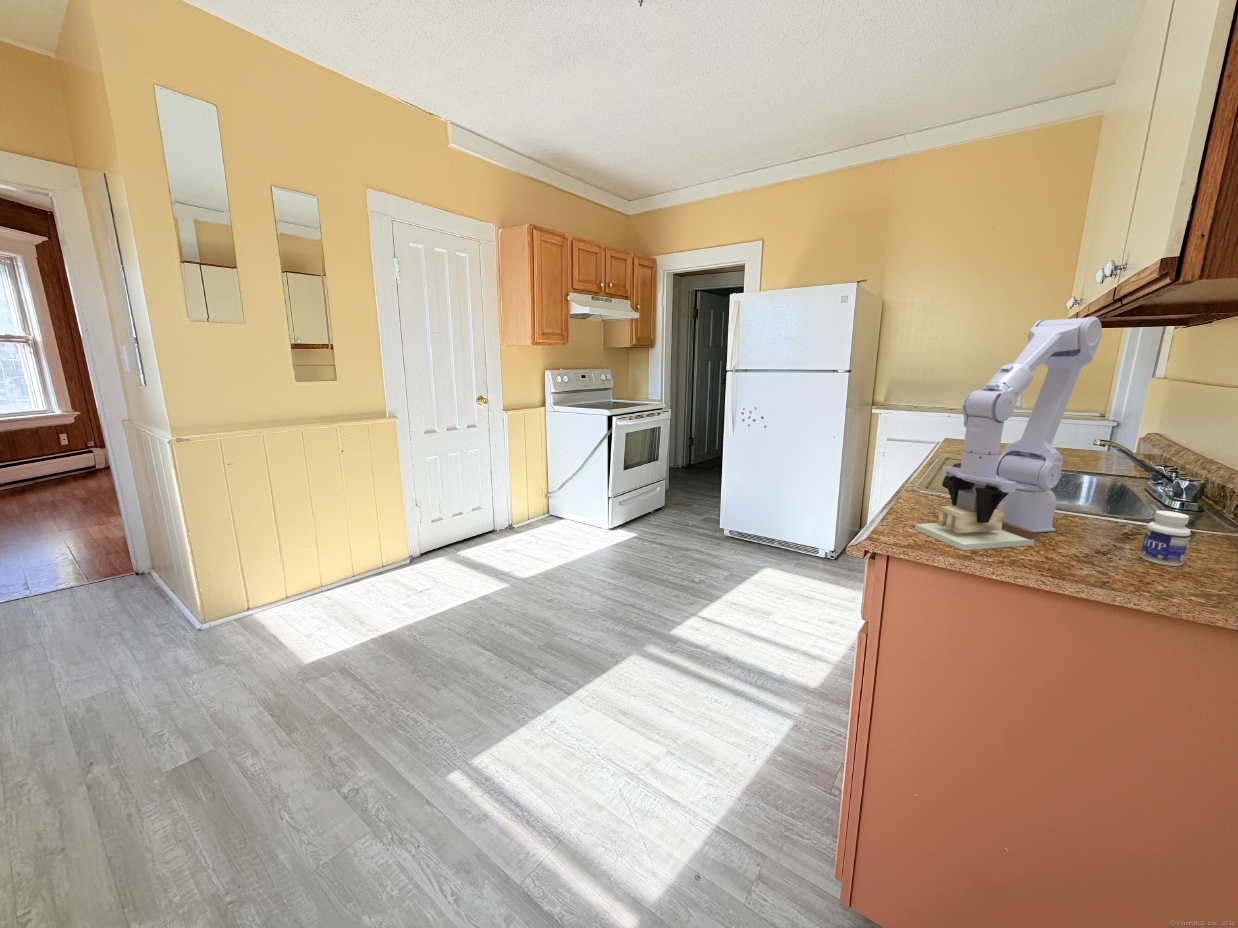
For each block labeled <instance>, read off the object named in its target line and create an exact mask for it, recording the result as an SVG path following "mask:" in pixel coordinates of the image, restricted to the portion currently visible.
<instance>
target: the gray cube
mask: <svg viewBox="0 0 1238 928" xmlns="http://www.w3.org/2000/svg"><path fill="white" fill-rule="evenodd" d="M956 507H959V508H962V509H965V510H968V511H971V512H977V509H978V501H977V494H976V491H975V488H972V489H970V490H959V491H958V498H957V505H956Z"/></svg>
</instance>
